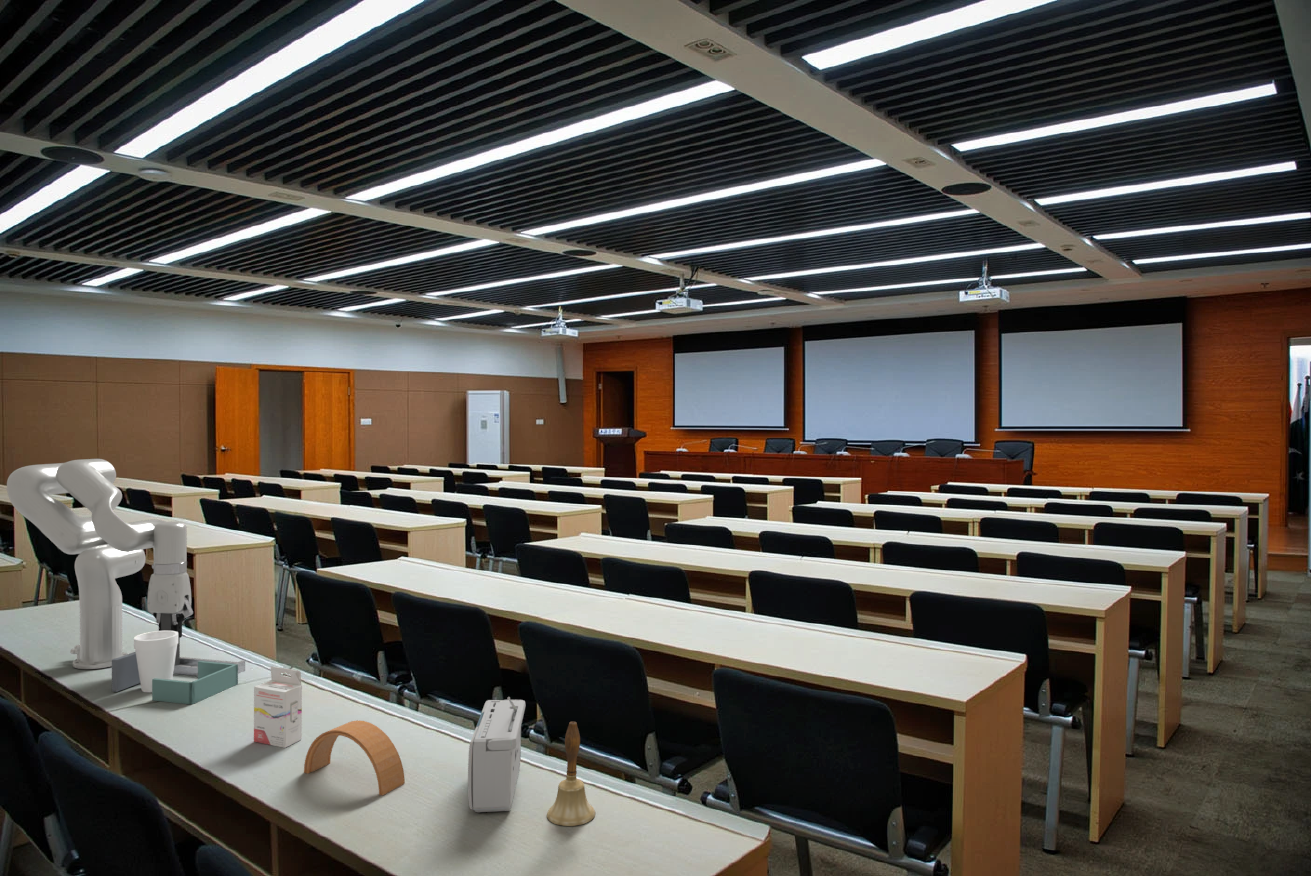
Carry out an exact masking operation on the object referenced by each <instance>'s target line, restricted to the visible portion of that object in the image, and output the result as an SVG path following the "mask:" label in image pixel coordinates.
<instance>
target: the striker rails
mask: <svg viewBox="0 0 1311 876" xmlns="http://www.w3.org/2000/svg"><path fill="white" fill-rule="evenodd" d="M199 661H206V662H217V663H228V664H238V674H240V673H243V672H245V671H246V661H245V660H240V661H231V660H230V661H229V660H219V659H218V660H217V659H207V658H199V657H198V658H197V657H186V656H185V657H184V656H180V665H175V664H174V671H173V675H174V674H175V675H185V676H186V675H187V676H195V677H196V676H197V677H198V662H199Z"/></svg>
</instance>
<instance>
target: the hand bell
mask: <svg viewBox="0 0 1311 876" xmlns="http://www.w3.org/2000/svg"><path fill="white" fill-rule="evenodd" d="M580 746H581V736H580V731H579V728H578V724H577V722H576V721H570V722H569V724H568V726H567V729H566V733H565V738H564V748H565V749H564V750H565V753H566V759H567V766H566V778H565V779H563V780H562V781H560V782H559V783H558V786H557V787H558V788H557V794H556V797H555V801H554V803H553V805H551V806H550V808H548V811H547V812H546V818H547V819H548V821H549V822H550V823H552V824H554V825H558V826H561V827H562V826H563V827H576V826H581V825H584V824H587V823H589V822H591V821H592V820H593V819H594V818H595V816H596V811H595V808H594V807H593V806H592V805H591V804H590V802H588V801H589V800H588V798H587V795H586V790H585V783H584V782H583V780H580V779H578V778H577V773H578V772H577V758H578V754H579V751H580Z"/></svg>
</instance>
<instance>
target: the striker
mask: <svg viewBox="0 0 1311 876" xmlns="http://www.w3.org/2000/svg"><path fill="white" fill-rule="evenodd" d="M177 616H178V617H179V614H177ZM172 624H173V621H172V614H166V613H161V631H171V625H172ZM180 643H181V642H180V638H178V644H177V650H176V657H175V665H180V657H181V655H180V652H181V651H180V648H181V647H180V645H181V644H180ZM138 684H140V677H139V671H138V664H137V658H136V651H134V652H130V653H127V655H124V656H121V657H118V658H115V659H112V666H111V692H120V691H122V690H125V689H128V688H131V687H133V686H137V685H138Z"/></svg>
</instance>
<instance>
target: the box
mask: <svg viewBox="0 0 1311 876" xmlns="http://www.w3.org/2000/svg"><path fill="white" fill-rule="evenodd" d="M237 685H239V673H238V664H228V663H217V662H206V661H199V662H198V676H197V679H195V680H192V681H186V680H176V679H172V680H168V679H158V678H154V679H152V692H151V693H152V695H151V700H152V701H156V702H164V703H165V702H166V703H176V704H183V705H194V704H197V703H198V702H201V701H203V700H205V699H209V698H210V697H213V696H214V695H217V694H219V693H221V692H224V691H226V690H228V689H230V688H232V687H235V686H237Z"/></svg>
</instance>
